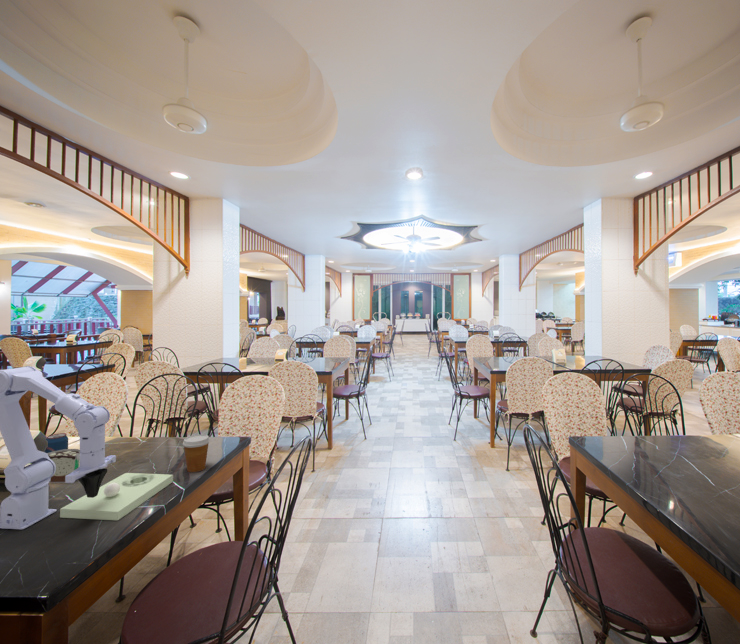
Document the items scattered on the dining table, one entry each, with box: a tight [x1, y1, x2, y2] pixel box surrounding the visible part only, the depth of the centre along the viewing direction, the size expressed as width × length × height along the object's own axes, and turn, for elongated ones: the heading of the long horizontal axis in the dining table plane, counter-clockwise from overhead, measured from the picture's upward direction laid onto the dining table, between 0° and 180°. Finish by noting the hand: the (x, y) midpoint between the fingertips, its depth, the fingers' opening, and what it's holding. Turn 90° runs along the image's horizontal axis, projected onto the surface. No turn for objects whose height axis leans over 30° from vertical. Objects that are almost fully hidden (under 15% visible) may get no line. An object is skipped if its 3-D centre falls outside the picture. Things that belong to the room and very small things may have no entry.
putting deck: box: [59, 472, 174, 521], centre depth 110 cm, size 24×18×2 cm
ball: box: [104, 483, 120, 497], centre depth 106 cm, size 4×4×4 cm
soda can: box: [45, 432, 69, 453], centre depth 134 cm, size 7×7×12 cm
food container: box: [47, 448, 80, 484], centre depth 123 cm, size 12×6×10 cm, turn 92°
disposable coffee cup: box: [182, 434, 211, 473], centre depth 132 cm, size 10×10×12 cm
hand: (92, 496), depth 99 cm, fingers closed
